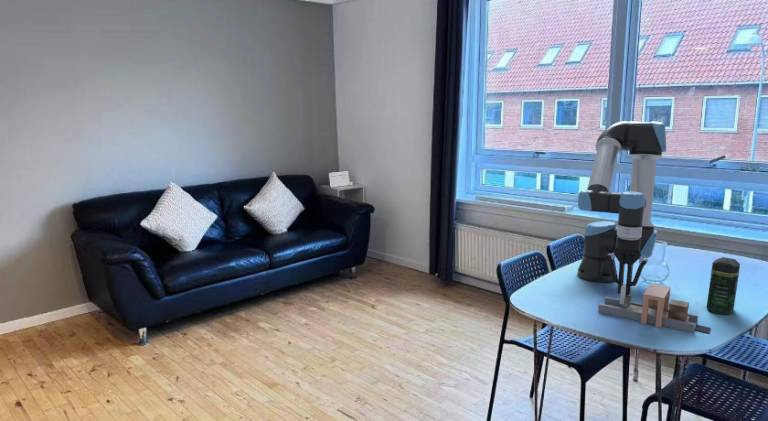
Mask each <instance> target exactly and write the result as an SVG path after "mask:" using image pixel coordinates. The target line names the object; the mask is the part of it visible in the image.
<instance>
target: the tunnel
mask: <svg viewBox="0 0 768 421" xmlns="http://www.w3.org/2000/svg"><path fill="white" fill-rule="evenodd" d="M670 296H671V286H667V285H661V284H657V283H650V284H649V286H648V287H647V288H646V290H645V292H643V298H642V304H643V305H642V315H641V321H640V324H644V325H647V318H648V308H649V305H650V306H655V307H657V316H656V324H655V327H656V328H660V329H661V328H662V327H663V326H662V319H663V310H664V309H669V303H670Z"/></svg>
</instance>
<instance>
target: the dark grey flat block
mask: <svg viewBox="0 0 768 421" xmlns="http://www.w3.org/2000/svg"><path fill="white" fill-rule="evenodd" d="M711 330H712V328H711V327H710V326H703V325H699V324H697V325H696V327H695V330H694V332H699V333H705V334H710V332H711Z"/></svg>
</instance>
